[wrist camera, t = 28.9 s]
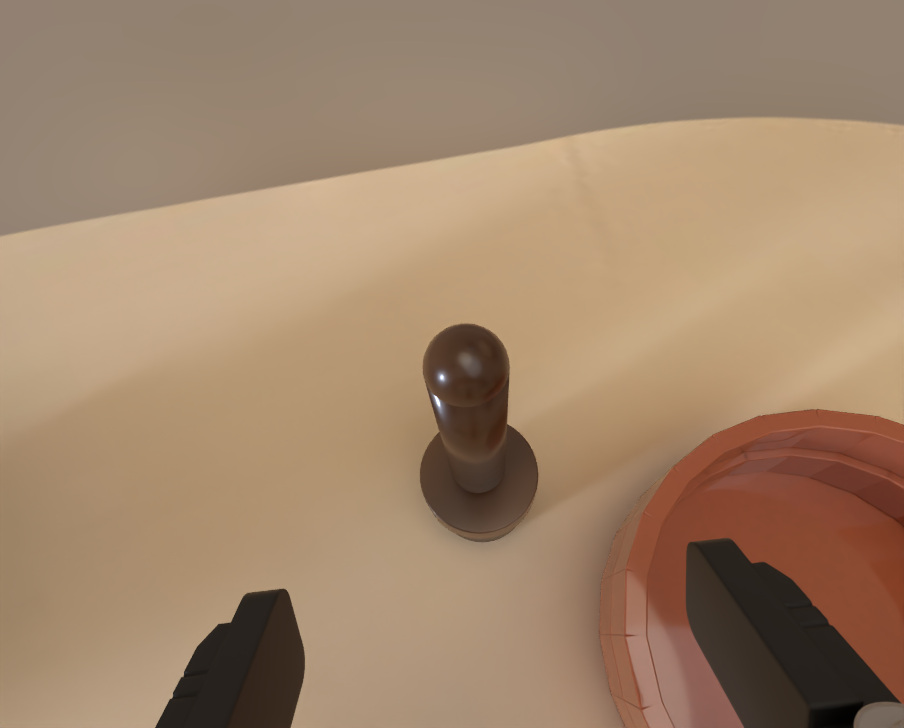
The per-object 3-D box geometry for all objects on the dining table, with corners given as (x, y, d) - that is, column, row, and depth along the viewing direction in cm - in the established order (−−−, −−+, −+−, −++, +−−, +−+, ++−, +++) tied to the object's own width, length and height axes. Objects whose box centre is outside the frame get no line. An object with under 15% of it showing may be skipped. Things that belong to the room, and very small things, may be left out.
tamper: (411, 504, 27) (315, 365, 13) (472, 429, 29) (448, 229, 14) (490, 571, 26) (482, 496, 11) (552, 487, 27) (613, 327, 13)
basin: (522, 670, 24) (529, 682, 18) (709, 391, 29) (758, 336, 23) (925, 1031, 18) (1103, 1197, 13) (1071, 609, 23) (1244, 603, 18)
